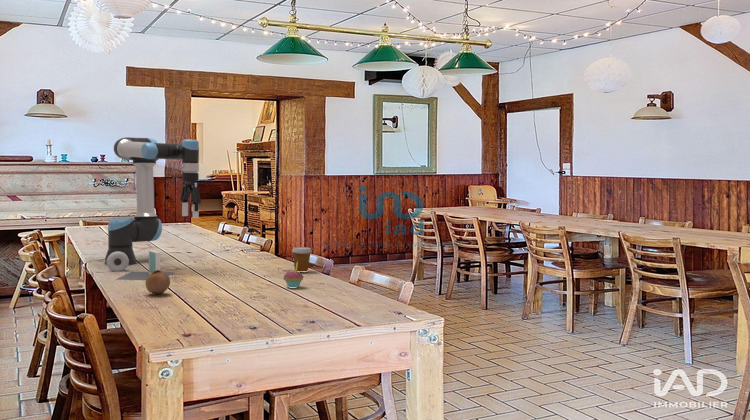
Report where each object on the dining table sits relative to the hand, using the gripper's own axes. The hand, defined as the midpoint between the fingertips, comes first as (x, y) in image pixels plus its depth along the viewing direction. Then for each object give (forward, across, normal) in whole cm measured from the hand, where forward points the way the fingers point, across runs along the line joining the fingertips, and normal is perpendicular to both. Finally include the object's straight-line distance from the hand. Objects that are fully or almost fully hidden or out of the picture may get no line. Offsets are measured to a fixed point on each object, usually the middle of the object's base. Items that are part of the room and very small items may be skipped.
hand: (190, 217), depth 328 cm
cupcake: (+27, +56, +25) cm, 67 cm away
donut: (+27, -18, -29) cm, 43 cm away
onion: (+27, +44, -30) cm, 60 cm away
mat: (+27, +2, -21) cm, 34 cm away
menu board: (+26, +1, -17) cm, 31 cm away
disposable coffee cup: (+27, +22, +48) cm, 60 cm away
